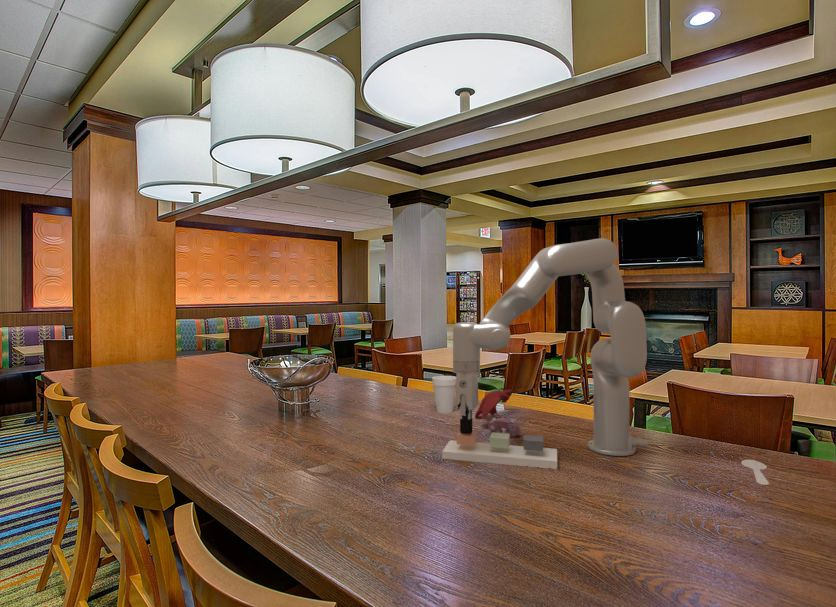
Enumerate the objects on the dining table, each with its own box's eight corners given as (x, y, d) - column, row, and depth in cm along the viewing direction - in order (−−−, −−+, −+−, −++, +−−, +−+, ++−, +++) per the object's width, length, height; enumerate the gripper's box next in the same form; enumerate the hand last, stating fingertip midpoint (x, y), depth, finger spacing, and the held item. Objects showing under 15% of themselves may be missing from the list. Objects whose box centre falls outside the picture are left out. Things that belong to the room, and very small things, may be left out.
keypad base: (557, 456, 127) (556, 448, 127) (557, 469, 117) (557, 461, 117) (450, 447, 135) (450, 440, 135) (442, 458, 126) (442, 451, 126)
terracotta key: (477, 440, 131) (477, 431, 131) (474, 445, 126) (474, 436, 126) (460, 438, 132) (460, 430, 132) (456, 444, 127) (456, 435, 127)
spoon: (749, 483, 108) (749, 481, 108) (739, 459, 124) (739, 457, 124) (778, 488, 106) (778, 485, 106) (763, 463, 122) (763, 461, 122)
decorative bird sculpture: (475, 442, 154) (505, 412, 149) (456, 421, 157) (485, 391, 152) (499, 421, 179) (525, 395, 175) (482, 403, 182) (507, 377, 178)
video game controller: (488, 438, 148) (485, 421, 145) (492, 429, 152) (489, 412, 149) (519, 443, 144) (516, 425, 141) (522, 433, 147) (519, 415, 144)
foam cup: (428, 410, 180) (428, 376, 180) (449, 407, 184) (449, 374, 184) (439, 415, 172) (439, 380, 171) (461, 412, 175) (461, 378, 175)
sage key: (509, 442, 128) (509, 433, 128) (508, 448, 123) (508, 439, 123) (491, 441, 129) (491, 432, 129) (489, 446, 125) (489, 437, 125)
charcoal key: (543, 445, 126) (543, 436, 125) (543, 451, 121) (543, 441, 121) (524, 443, 127) (524, 434, 127) (523, 449, 122) (523, 440, 122)
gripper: (475, 371, 120) (475, 441, 121) (483, 363, 135) (483, 426, 135) (447, 370, 122) (447, 439, 123) (458, 362, 137) (458, 424, 137)
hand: (466, 432), depth 129 cm, fingers closed
